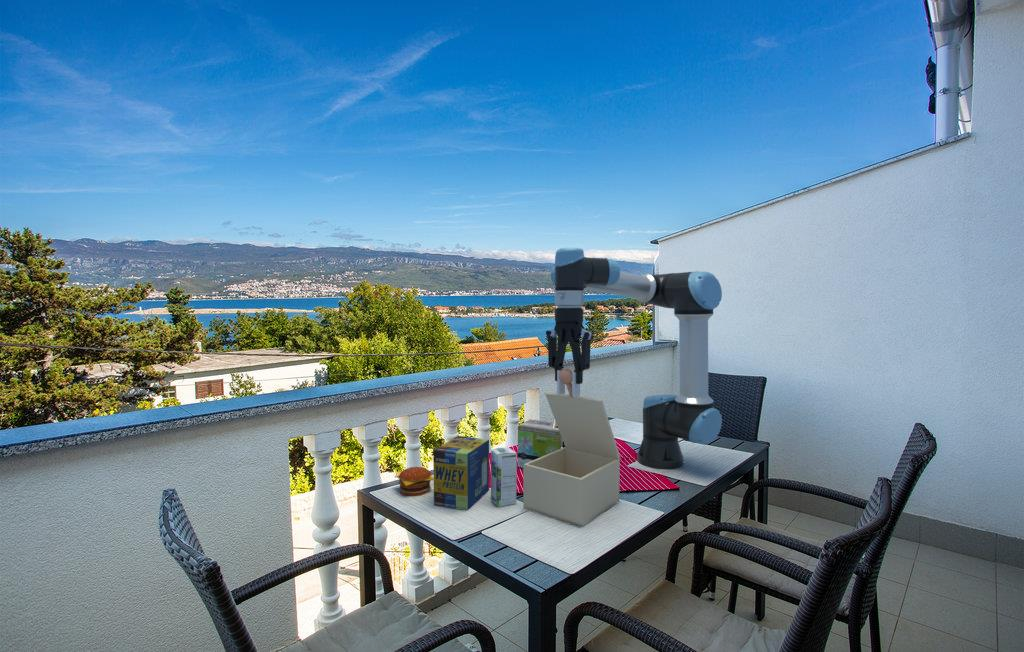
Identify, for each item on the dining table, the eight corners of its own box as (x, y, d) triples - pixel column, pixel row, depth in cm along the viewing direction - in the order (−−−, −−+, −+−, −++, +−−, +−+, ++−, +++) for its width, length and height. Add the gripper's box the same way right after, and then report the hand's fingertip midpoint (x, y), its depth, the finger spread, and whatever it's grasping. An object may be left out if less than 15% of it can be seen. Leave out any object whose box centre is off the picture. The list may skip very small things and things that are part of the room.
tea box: (516, 468, 163) (516, 424, 162) (529, 460, 172) (529, 418, 171) (558, 475, 156) (558, 430, 155) (570, 466, 165) (570, 423, 164)
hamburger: (407, 499, 138) (406, 476, 138) (394, 489, 146) (393, 467, 146) (437, 491, 143) (436, 469, 143) (423, 482, 151) (422, 461, 151)
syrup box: (490, 499, 137) (489, 448, 137) (509, 496, 140) (509, 446, 139) (497, 507, 132) (497, 454, 131) (517, 503, 134) (517, 451, 134)
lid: (563, 450, 145) (569, 440, 148) (617, 462, 134) (623, 452, 137) (533, 371, 133) (541, 363, 135) (590, 378, 122) (597, 368, 124)
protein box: (433, 505, 134) (432, 449, 133) (458, 485, 148) (457, 435, 147) (467, 511, 130) (467, 453, 129) (490, 490, 144) (489, 438, 144)
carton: (564, 486, 147) (564, 447, 146) (619, 502, 135) (619, 459, 135) (523, 508, 131) (523, 464, 131) (581, 527, 120) (581, 479, 119)
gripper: (534, 307, 132) (534, 393, 133) (590, 307, 121) (589, 401, 122) (550, 307, 138) (550, 389, 139) (604, 307, 127) (604, 396, 128)
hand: (568, 394), depth 130 cm, fingers closed on lid, 4 cm apart
